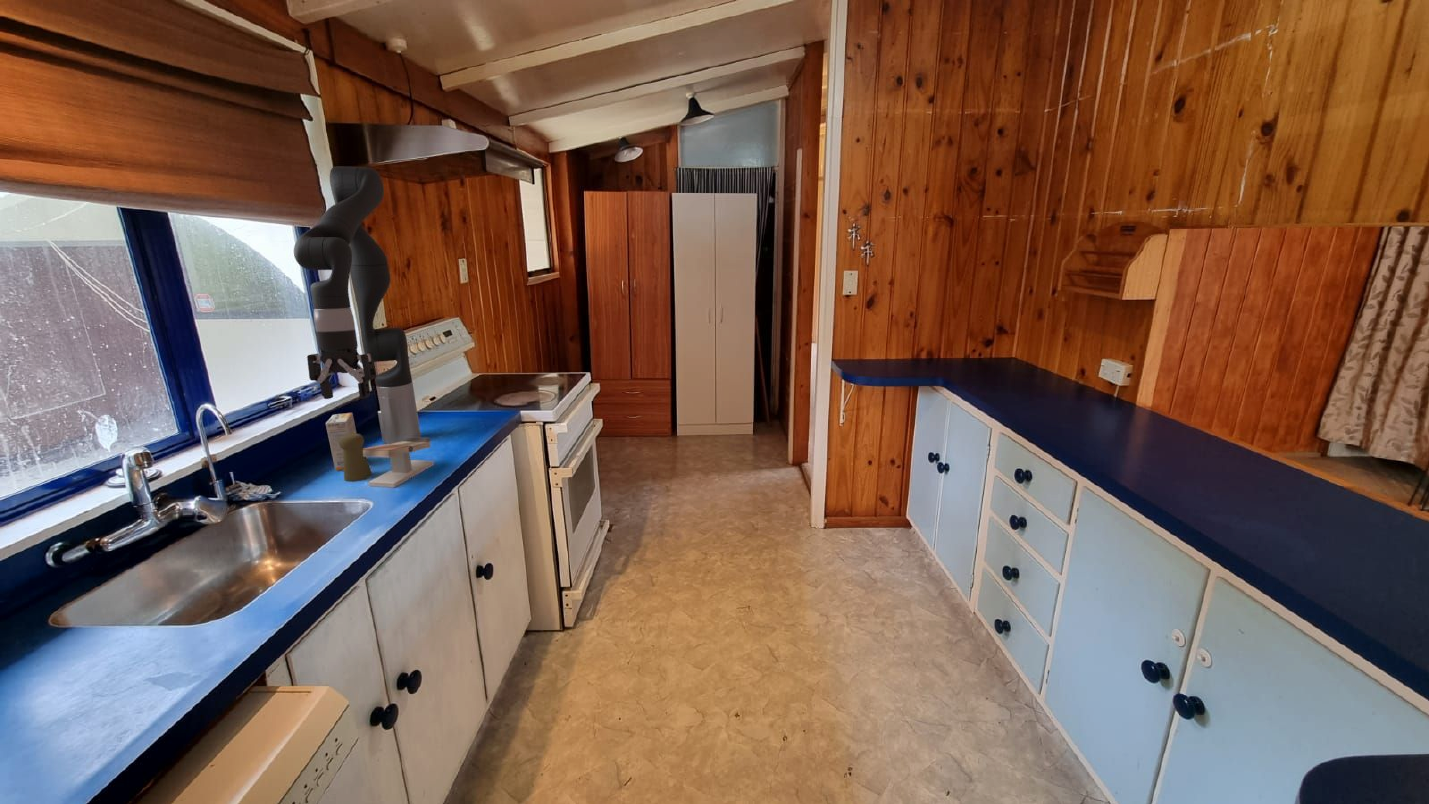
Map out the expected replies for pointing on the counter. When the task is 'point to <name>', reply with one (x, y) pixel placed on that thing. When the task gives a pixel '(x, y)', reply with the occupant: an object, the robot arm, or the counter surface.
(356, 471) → the cork
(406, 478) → the seesaw stand
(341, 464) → the supplement box
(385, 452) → the seesaw
